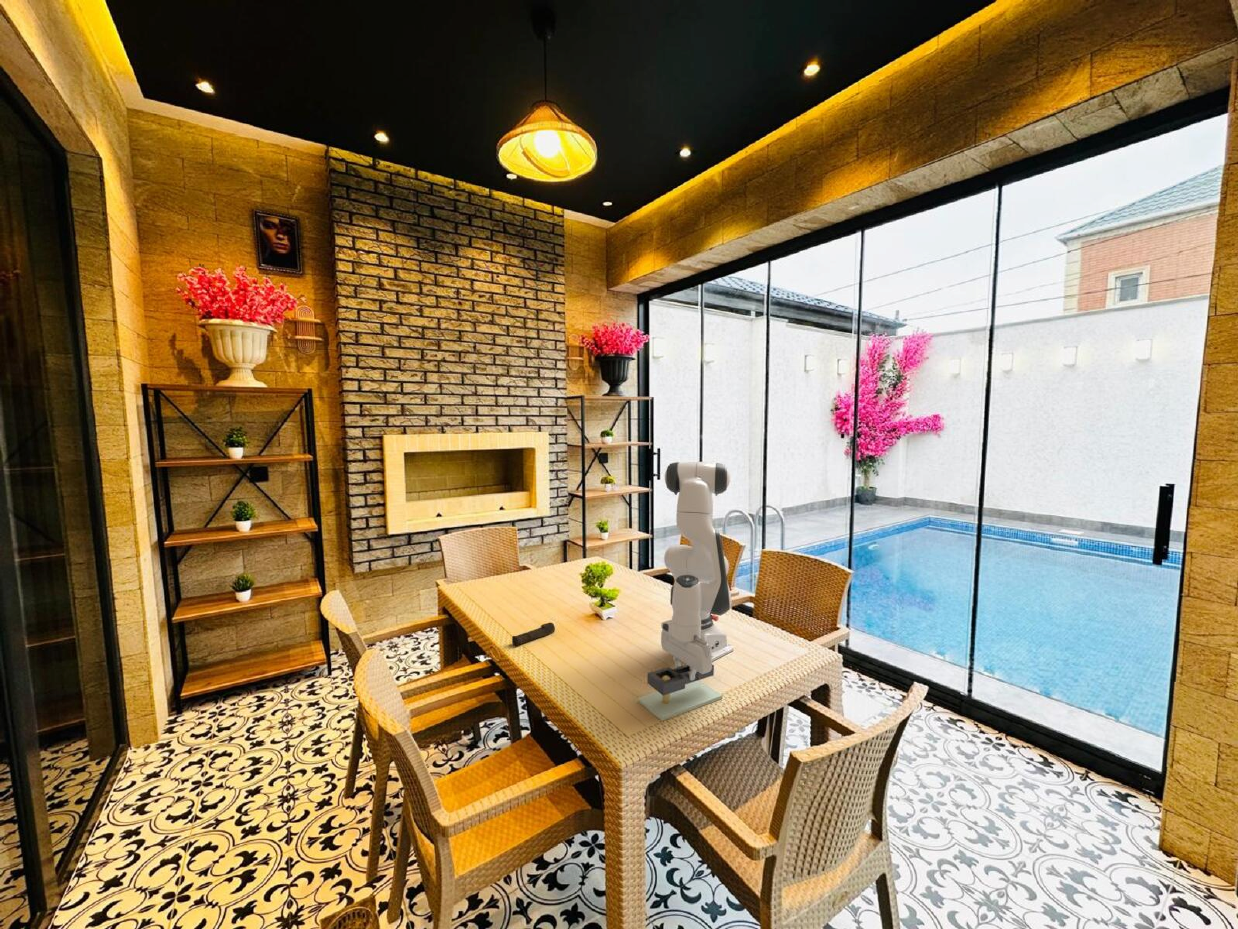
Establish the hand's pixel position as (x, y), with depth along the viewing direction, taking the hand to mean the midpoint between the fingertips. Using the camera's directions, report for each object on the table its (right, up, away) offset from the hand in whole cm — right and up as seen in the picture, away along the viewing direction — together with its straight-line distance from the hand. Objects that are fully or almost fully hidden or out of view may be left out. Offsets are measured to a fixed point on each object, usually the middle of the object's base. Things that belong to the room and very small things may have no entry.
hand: (684, 675), depth 151 cm
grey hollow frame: (-1, -2, 0) cm, 2 cm away
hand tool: (-53, -4, +43) cm, 69 cm away
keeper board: (-1, -8, 0) cm, 8 cm away
